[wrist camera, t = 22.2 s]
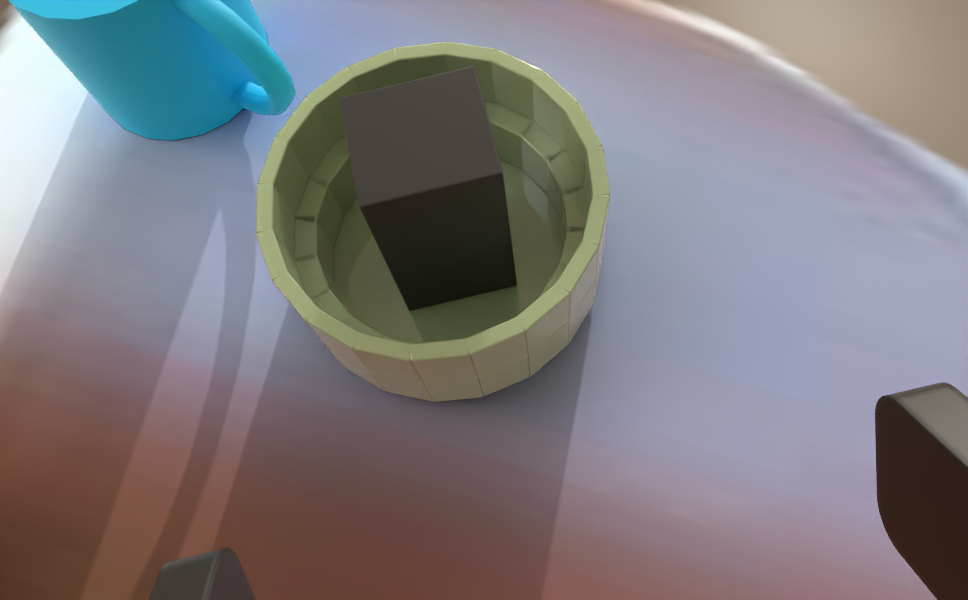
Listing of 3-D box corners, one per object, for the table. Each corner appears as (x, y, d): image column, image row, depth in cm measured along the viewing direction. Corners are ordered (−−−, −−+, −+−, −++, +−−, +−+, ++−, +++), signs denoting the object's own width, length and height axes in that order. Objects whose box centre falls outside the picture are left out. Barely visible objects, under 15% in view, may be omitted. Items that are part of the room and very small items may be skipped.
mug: (62, 89, 40) (-56, -39, 32) (177, -32, 42) (92, -179, 34) (255, 212, 36) (175, 104, 29) (369, 75, 38) (323, -61, 31)
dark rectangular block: (517, 286, 34) (503, 173, 25) (408, 311, 34) (358, 207, 25) (495, 198, 35) (474, 64, 27) (391, 223, 35) (338, 97, 27)
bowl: (360, 454, 32) (319, 418, 27) (267, 194, 37) (215, 117, 31) (652, 330, 33) (671, 270, 28) (527, 90, 38) (521, -4, 32)
